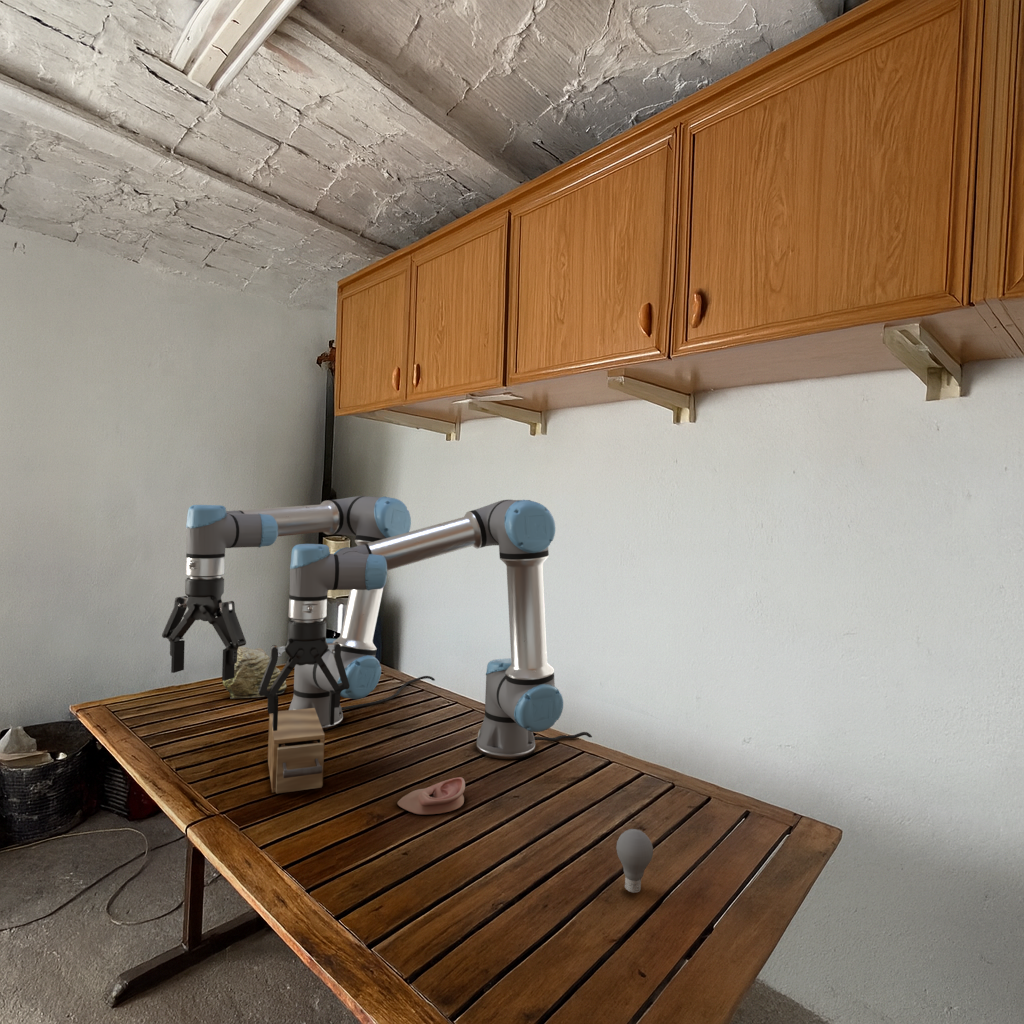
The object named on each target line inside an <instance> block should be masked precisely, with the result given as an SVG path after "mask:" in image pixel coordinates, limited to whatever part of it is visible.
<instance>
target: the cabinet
mask: <svg viewBox="0 0 1024 1024" xmlns="http://www.w3.org/2000/svg"><path fill="white" fill-rule="evenodd" d="M268 716H269V717H268V741H267V743H268V744H267V764H268V772H269V779H270V787H271V788H270V789H271V793H272V794H273V793H276V771H277V748H278V747H279V744H282V743H291V742H300V741H309V740H317V741H318V743H322V742H323V766H324V763H325V735H326V734H325V731H323V729H322V726H321V724H320V721H319V718H318V716H317V713H316V710H315V708H309V709H298V710H289V709H288V710H287V709H286V710H278V725H277V731H273V713H271V714H269V713H268ZM323 786H324V767H323V768H322V787H323Z"/></svg>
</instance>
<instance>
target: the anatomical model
mask: <svg viewBox="0 0 1024 1024" xmlns="http://www.w3.org/2000/svg"><path fill="white" fill-rule="evenodd" d="M465 789H466V781H465V779H464V778H463V777H461V776H459V777H453V778H449V779H446V780H442V781H439V782H437V783H435V784H432V785H431V786H430V785H429V786H428V787H425V788H419V789H416V790H412V791H411V792H409V793H406V794H405V795H403V796H402V797H401V798H400V799H399V800H398V801H397V806H398V807H400V808H402V809H403V810H405V811H408V812H410V813H413V814H414V815H415V814H416V815H422V816H423V815H424V816H425V815H436V814H445V813H448V812H449V813H450V812H453V811H455V810H457V809H460V808H461V807H462V806H464V802H465V797H464V792H465Z"/></svg>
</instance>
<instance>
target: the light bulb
mask: <svg viewBox="0 0 1024 1024" xmlns="http://www.w3.org/2000/svg"><path fill="white" fill-rule="evenodd" d="M615 849H616V854H617V857H618V859H619V861H620V863H621V865H622V867H623V873H624V874H623V875H624V876H625V878H624V888H625V890H627V891H628V892H630V893H634V894H635V893H639V892H640V891H641V889H642V887H641V886H642V879H643V877H644V875H645V871H646V868H647V867H648V866H649V864H650V863H651V861H652V859H653V855H654V847H653V843H652V841H651V838H649V836H648V835H647V834H646V833H645V832H643V831H642V830H641V829H636V828H629V829H627V830H625V831H623V832H622V833H621V834H620V835H619V837H618V839H617V841H616V847H615Z"/></svg>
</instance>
